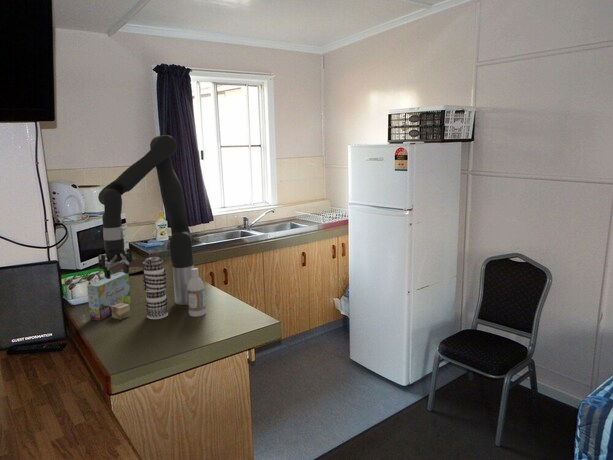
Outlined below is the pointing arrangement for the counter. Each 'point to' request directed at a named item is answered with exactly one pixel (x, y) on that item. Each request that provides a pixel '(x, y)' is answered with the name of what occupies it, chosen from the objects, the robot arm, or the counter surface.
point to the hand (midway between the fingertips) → (117, 275)
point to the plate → (130, 265)
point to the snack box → (108, 295)
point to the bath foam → (196, 295)
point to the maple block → (120, 311)
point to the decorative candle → (155, 288)
